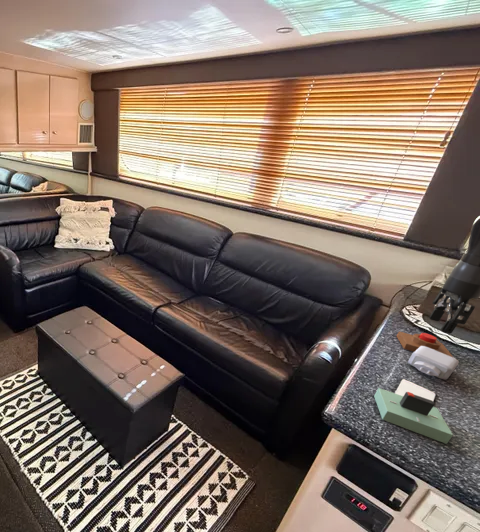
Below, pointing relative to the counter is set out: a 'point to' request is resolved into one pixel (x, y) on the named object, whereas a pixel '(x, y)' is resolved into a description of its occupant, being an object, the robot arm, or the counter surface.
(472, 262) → the robot arm
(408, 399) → the black block
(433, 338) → the power button
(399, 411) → the panel
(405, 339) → the button block
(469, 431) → the counter surface
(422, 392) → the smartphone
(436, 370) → the charger
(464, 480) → the counter surface
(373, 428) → the counter surface
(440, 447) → the counter surface
